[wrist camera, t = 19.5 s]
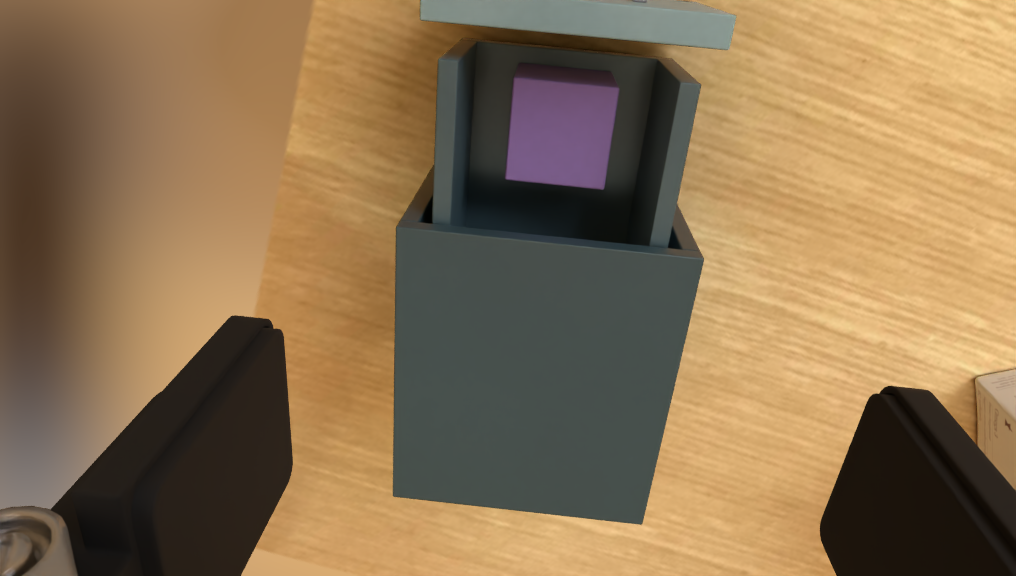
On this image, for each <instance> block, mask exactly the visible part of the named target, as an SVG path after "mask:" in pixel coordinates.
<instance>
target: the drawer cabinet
mask: <svg viewBox="0 0 1016 576" xmlns="http://www.w3.org/2000/svg"><path fill="white" fill-rule="evenodd" d="M433 182H434V165H433V167H432V168H431V170H430V172H429V173H428V175H427V177H426V178H425V180H424V182H423V183H422V185H421V187H420V188H419V190H418V192H417V193H416V195H415V197H414V198H413V200H412V202H411V203H410V205H409V207H408V208H407V210H406V212H405V213H404V215H403V217H402V218H401V220H400V222H399V223H398V225H397V227H396V271H395V355H394V440H393V496H394V497H401V498H410V499H419V500H428V501H437V502H446V503H455V504H463V505H472V506H481V507H490V508H499V509H508V510H516V511H525V512H534V513H543V514H552V515H561V516H570V517H578V518H587V519H596V520H605V521H614V522H623V523H632V524H640V525H641V524H642V523H643V519H644V515H645V510H646V506H647V502H648V497H649V493H650V489H651V485H652V480H653V476H654V472H655V467H656V463H657V459H658V455H659V450H660V446H661V442H662V437H663V433H664V429H665V425H666V420H667V416H668V412H669V407H670V403H671V399H672V395H673V390H674V386H675V382H676V378H677V373H678V369H679V365H680V360H681V356H682V352H683V348H684V343H685V339H686V335H687V330H688V326H689V322H690V318H691V313H692V309H693V305H694V300H695V296H696V292H697V288H698V283H699V279H700V275H701V270H702V266H703V262H704V258H703V256H702V254H701V252H700V250H699V248H698V246H697V244H696V242H695V240H694V238H693V236H692V234H691V232H690V230H689V228H688V225H687V223H686V221H685V219H684V217H683V215H682V213H681V211H680V209H679V207H678V205H676V210H675V215H674V219H673V224H672V229H671V234H670V239H669V244H668V248H660V247H651V246H641V245H631V244H622V243H612V242H603V241H593V240H583V239H574V238H564V237H554V236H545V235H535V234H525V233H516V232H506V231H497V230H487V229H477V228H468V227H458V226H448V225H439V224H432V209H433Z"/></svg>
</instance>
